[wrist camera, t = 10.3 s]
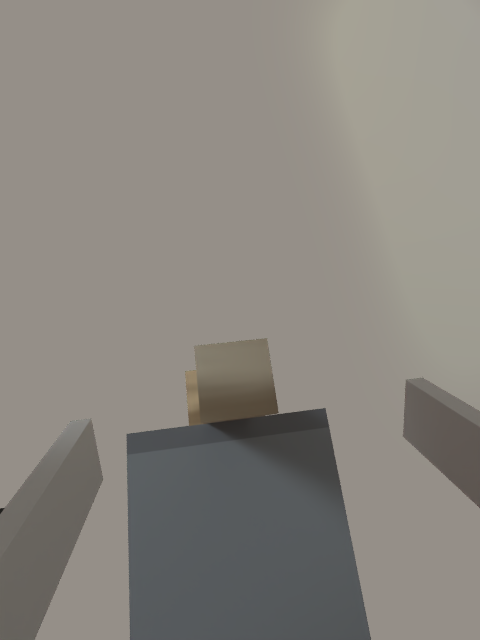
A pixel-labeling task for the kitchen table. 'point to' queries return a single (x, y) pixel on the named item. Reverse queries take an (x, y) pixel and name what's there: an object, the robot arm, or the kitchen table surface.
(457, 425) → the robot arm
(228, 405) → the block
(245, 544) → the lidded box
